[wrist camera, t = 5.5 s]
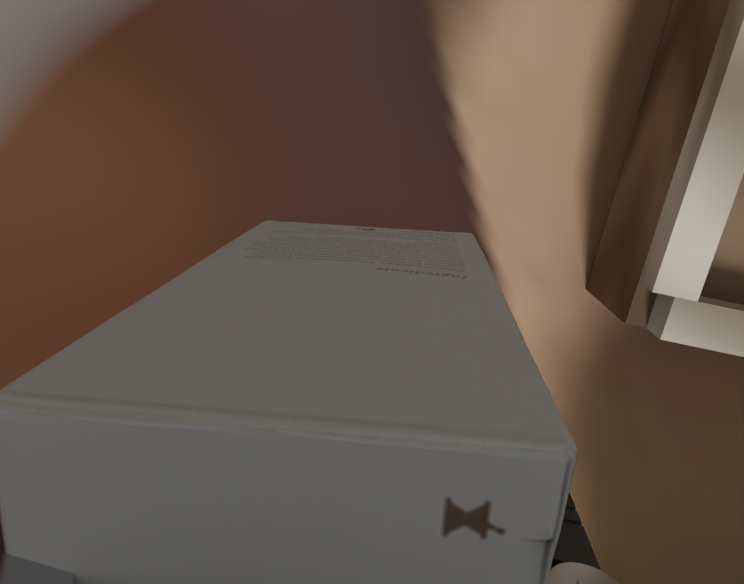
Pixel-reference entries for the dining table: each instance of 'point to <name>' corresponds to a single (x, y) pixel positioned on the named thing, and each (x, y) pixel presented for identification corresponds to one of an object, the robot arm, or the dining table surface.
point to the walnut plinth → (683, 189)
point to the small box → (294, 424)
